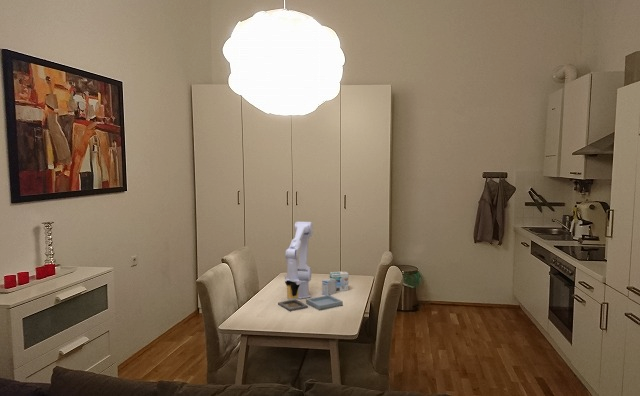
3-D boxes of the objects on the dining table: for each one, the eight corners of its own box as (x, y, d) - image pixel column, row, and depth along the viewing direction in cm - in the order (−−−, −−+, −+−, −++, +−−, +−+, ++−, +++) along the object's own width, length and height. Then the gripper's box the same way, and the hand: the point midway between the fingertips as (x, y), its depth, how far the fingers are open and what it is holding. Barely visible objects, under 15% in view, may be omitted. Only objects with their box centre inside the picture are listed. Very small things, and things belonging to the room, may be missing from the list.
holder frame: (278, 304, 248) (278, 302, 248) (295, 301, 254) (295, 299, 254) (289, 311, 236) (289, 309, 236) (307, 307, 242) (307, 305, 242)
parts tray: (306, 303, 249) (306, 299, 249) (328, 299, 257) (328, 295, 257) (319, 310, 238) (319, 305, 237) (342, 305, 245) (342, 301, 245)
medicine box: (330, 291, 273) (330, 277, 272) (335, 293, 270) (335, 279, 269) (321, 294, 266) (321, 280, 266) (327, 296, 264) (327, 281, 263)
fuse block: (287, 299, 245) (287, 285, 244) (295, 297, 247) (295, 284, 247) (290, 300, 242) (290, 286, 241) (298, 299, 245) (298, 285, 244)
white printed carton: (332, 292, 272) (332, 274, 271) (329, 289, 279) (329, 272, 278) (349, 290, 275) (349, 273, 274) (345, 287, 281) (345, 270, 281)
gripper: (279, 268, 248) (280, 292, 249) (292, 273, 235) (292, 299, 236) (291, 267, 251) (291, 290, 252) (303, 272, 239) (304, 297, 240)
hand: (292, 294), depth 245 cm, fingers closed on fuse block, 3 cm apart
